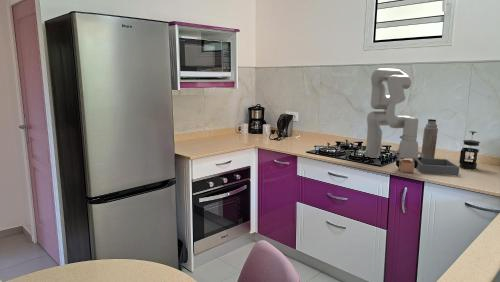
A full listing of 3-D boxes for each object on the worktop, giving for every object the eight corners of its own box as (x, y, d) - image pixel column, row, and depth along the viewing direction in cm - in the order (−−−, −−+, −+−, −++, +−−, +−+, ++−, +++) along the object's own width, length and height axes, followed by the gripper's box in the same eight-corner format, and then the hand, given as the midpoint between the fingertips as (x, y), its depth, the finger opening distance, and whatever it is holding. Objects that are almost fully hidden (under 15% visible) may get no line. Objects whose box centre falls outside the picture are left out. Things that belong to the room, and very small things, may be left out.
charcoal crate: (421, 173, 205) (422, 164, 204) (411, 164, 225) (412, 157, 224) (458, 175, 202) (459, 167, 201) (445, 167, 221) (446, 159, 220)
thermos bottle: (436, 162, 233) (441, 120, 228) (426, 162, 231) (431, 120, 226) (427, 159, 241) (432, 118, 236) (417, 159, 239) (422, 118, 234)
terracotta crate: (401, 172, 205) (402, 162, 204) (397, 168, 214) (399, 159, 212) (413, 173, 204) (414, 163, 203) (409, 169, 212) (410, 159, 211)
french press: (468, 165, 227) (473, 130, 223) (481, 169, 218) (486, 132, 214) (453, 166, 224) (458, 130, 220) (465, 170, 215) (471, 132, 211)
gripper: (395, 138, 203) (392, 167, 206) (427, 140, 200) (424, 169, 203) (392, 136, 210) (389, 164, 213) (423, 138, 207) (420, 166, 210)
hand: (406, 167), depth 208 cm, fingers open, 9 cm apart
